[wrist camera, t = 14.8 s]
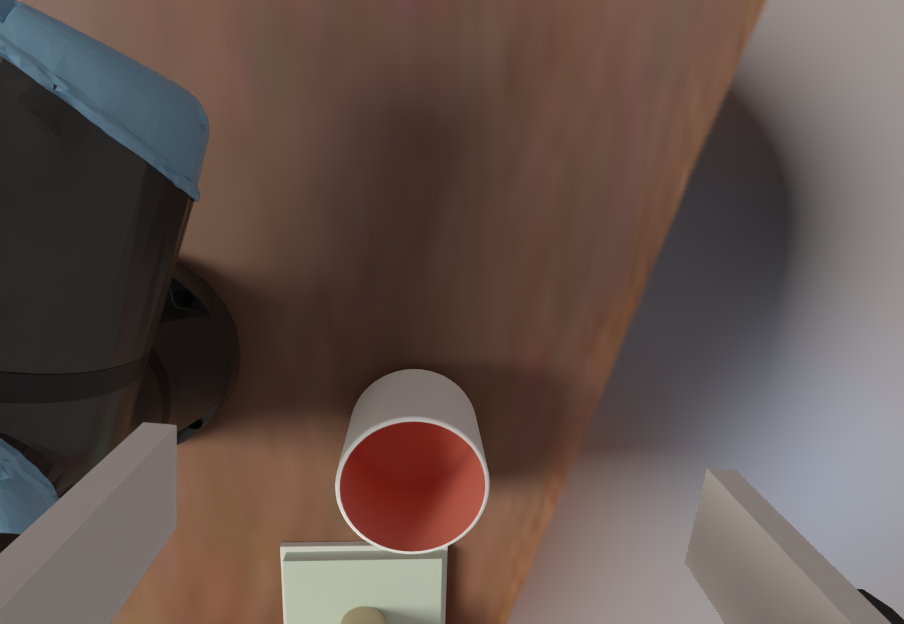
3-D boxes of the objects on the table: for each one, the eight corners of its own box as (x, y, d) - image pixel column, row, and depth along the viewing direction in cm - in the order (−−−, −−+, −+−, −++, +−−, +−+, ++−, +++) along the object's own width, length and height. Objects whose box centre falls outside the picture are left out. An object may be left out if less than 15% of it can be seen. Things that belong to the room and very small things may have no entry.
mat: (288, 677, 53) (286, 683, 52) (281, 542, 50) (280, 546, 49) (443, 673, 54) (443, 679, 53) (447, 540, 51) (447, 544, 50)
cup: (325, 412, 47) (302, 477, 37) (425, 339, 46) (427, 386, 36) (403, 499, 49) (399, 581, 40) (499, 431, 48) (520, 499, 39)
